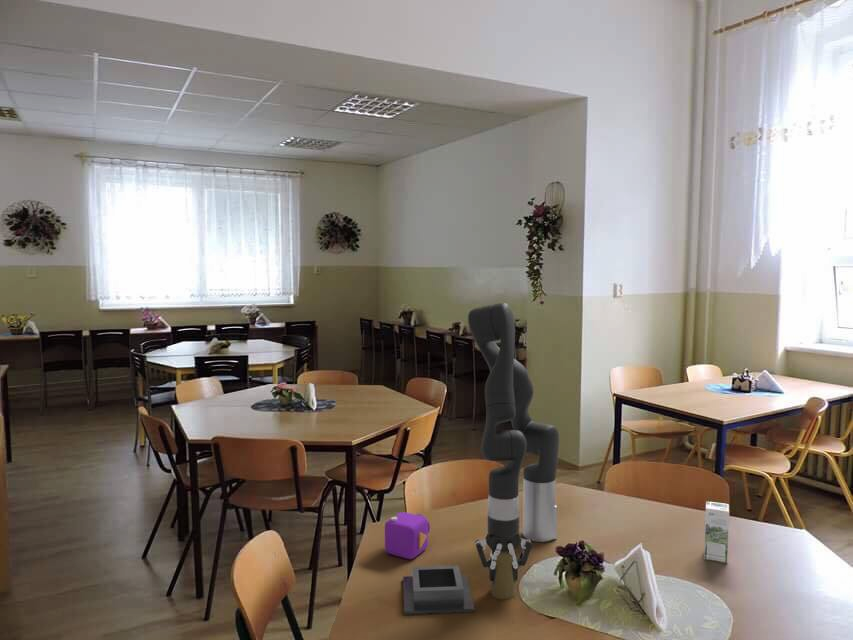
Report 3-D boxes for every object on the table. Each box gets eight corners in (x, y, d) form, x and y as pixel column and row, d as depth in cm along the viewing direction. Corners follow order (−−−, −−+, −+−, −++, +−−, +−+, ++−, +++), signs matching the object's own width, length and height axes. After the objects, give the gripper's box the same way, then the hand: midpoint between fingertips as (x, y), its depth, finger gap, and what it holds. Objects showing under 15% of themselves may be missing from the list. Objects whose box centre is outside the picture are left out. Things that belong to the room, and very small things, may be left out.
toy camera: (435, 541, 179) (435, 507, 179) (419, 563, 167) (418, 526, 166) (400, 536, 183) (399, 503, 182) (381, 557, 170) (381, 521, 169)
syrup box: (727, 555, 170) (729, 503, 168) (727, 564, 164) (729, 510, 163) (704, 551, 172) (705, 499, 171) (703, 560, 167) (705, 507, 166)
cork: (515, 586, 154) (515, 543, 153) (516, 599, 148) (516, 554, 147) (490, 585, 154) (490, 542, 153) (490, 598, 148) (490, 553, 147)
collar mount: (466, 577, 159) (466, 561, 158) (474, 612, 143) (474, 594, 142) (403, 579, 158) (402, 563, 157) (404, 614, 142) (404, 596, 141)
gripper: (529, 506, 153) (529, 573, 155) (471, 507, 153) (471, 575, 154) (536, 518, 146) (536, 589, 147) (475, 520, 145) (475, 591, 147)
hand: (503, 581), depth 151 cm, fingers closed on cork, 4 cm apart
